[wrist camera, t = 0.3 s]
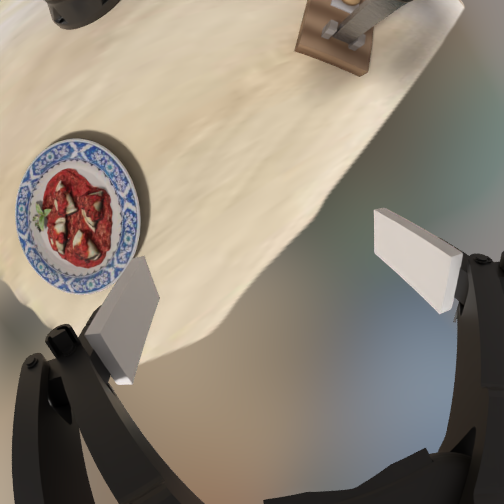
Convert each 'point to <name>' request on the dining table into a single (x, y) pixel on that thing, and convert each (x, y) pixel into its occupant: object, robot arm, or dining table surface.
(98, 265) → the ceramic plate
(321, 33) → the base
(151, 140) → the dining table surface
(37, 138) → the dining table surface
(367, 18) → the lever
